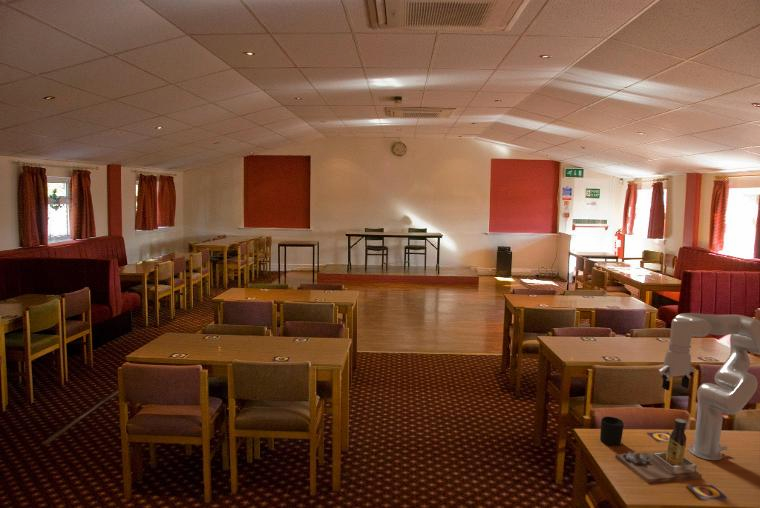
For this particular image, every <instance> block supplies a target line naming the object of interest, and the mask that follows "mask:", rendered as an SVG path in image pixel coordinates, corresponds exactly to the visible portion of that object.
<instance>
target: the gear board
mask: <svg viewBox="0 0 760 508" xmlns="http://www.w3.org/2000/svg"><path fill="white" fill-rule="evenodd" d="M666 455H667V450H662V451H661V450H660V451H649V452H648V451H647V452H638V451H634V452H632V451H627V452H624V453H621V454H619V453H618V454H615V456H614V457H615V459H616V460H618V461H619V462H620V463H621V464H622V465H624V466H625V467H626V466H627V467H626V468H628V469H629V470H630V471H631V470H632V471H631V472H633V473H634V474H636V475H637V476H638V477H639V478H641V479H642V480H643V481H644V482H645V483H647V484H649V483H651V484H652V483H663V482H672V481H673V482H675V481H685V480H699V479H702V477H703V474H702V473H700V472H698V471H697V464H696V463H694V462H693V461H691V460H690V459H689V458H687V457H685V456H684V459H683V464H682V465H679V466H672V465H671V464H669V463H668V462H666Z"/></svg>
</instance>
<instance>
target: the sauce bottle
mask: <svg viewBox="0 0 760 508" xmlns="http://www.w3.org/2000/svg"><path fill="white" fill-rule="evenodd" d="M686 425H687V421H686V420H685V419H682V418H676V419H675V420H674V428H673V430H672V432H671V433H670V435H669V437H668V441H667V442H668V443H667V449H666V451H667V455H666V462H668V463H669V464H671V465H672V466H679V465H682V464H683V459H684V457H685V452H686V446H687V445H686V444H687V436H686V433H685V431H686Z"/></svg>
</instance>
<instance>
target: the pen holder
mask: <svg viewBox="0 0 760 508" xmlns="http://www.w3.org/2000/svg"><path fill="white" fill-rule="evenodd" d="M624 426H625V424H624V422H623V420H622V419H620V418H617V417H613V416H604V417H602V418H601V422H600V438H599V440H600V441H601V443H603V444H605V445H607V446H609V447H618V446H620V445H621V443H622V439H623V433H624V432H623V431H624Z"/></svg>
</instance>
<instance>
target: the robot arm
mask: <svg viewBox="0 0 760 508" xmlns="http://www.w3.org/2000/svg"><path fill="white" fill-rule="evenodd" d="M670 325H671V326H670V336H669V344H668V350H666V353H665V357H664V361H663V365H662V366H663V367H662V368H660V369H658V372H659V376H660V377H661V379H662V386H661V387H662V389H663V390H666V391H669V390H670V386H671V380H670V379H672V377H681V387H683V388H684V389H689V388H690V387H689V386H690V380H691V379H692V376H693V375H694V372H695V370H696V367H695V366H692V365H691V364H692V359H691V358H692V357H691V352H690V351H691V348H692V346H691V343H692V337H696V338H697V337H698V338H702V337H703V338H704V337H706V336H708V335H715V336H726V335H730V336H729V345H730V351H729V353H730V354H729V356H728V357H727V359H726V360H725V362H724V363H723V364H722V365H721V367H719V369H718V370H717V372H716V373H715V375H714V382H715V383H716V384H715V383H712V382H704V383H701V384H700V385H699V387H698V389H697V392H696V393H697V394H696V395H697V415H696V424H695V431H694V439H693V444H691V445H689V447H688V452H690V453H691V455H693V456H695V457H698V458H700V459H703V460H707V461H715V462H716V461H720V460H722V458H723V455H722V453H721V452H722V451H728V446H727V445H720V444H721V443H720V441H721V435H722V427H723V426H722V425H723V413H722V412H724V413H725V414H729V415H736V414H739V413H740V412H741V411H742V410H743V408H744V407H745V406H746V405H747V403H748V402H749V401H750V400H751V399H752V397H753V396H754V394H755V393H756V391H757V389H758V386H759V383H758V378H757V377H756V376H755V375H754V374H752V373H749V372H748V370H749V369H750V367H751V360H750V356H749V354H748V352H749V353H752V354H755V355H760V320H759V319H757V318H754V317H750V316H746V315H741V314H735V313H734V314H732V313H731V314H712V313H711V314H710V313H698V312H696V313H694V312H685V313H684V312H683V313H679V314H678V315H676V316H675V317H674V318H673V319H672V320H671V324H670Z"/></svg>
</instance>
